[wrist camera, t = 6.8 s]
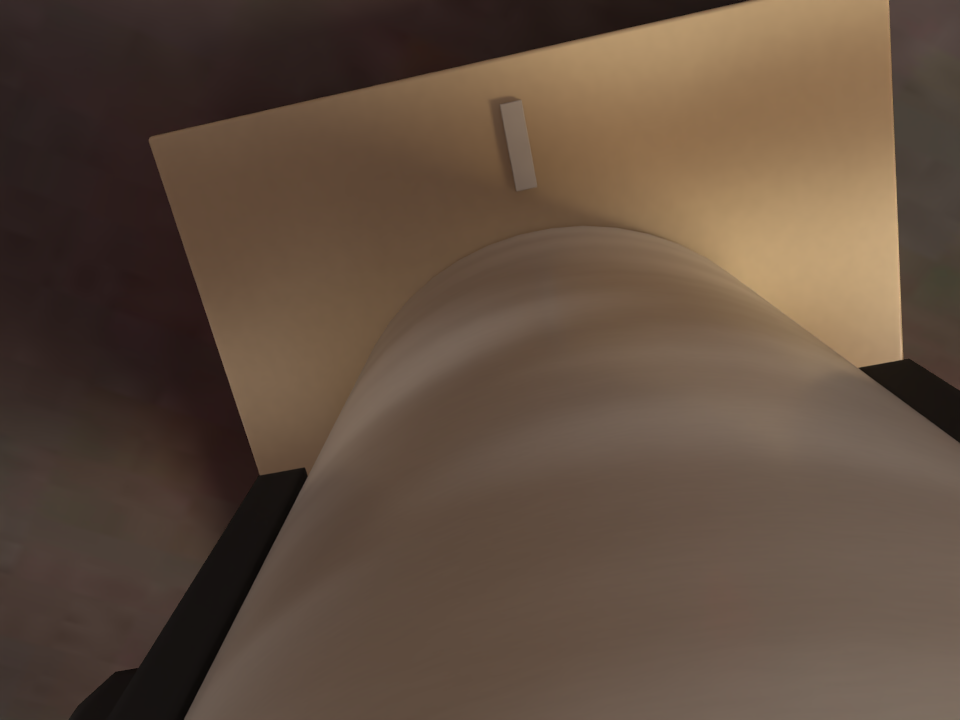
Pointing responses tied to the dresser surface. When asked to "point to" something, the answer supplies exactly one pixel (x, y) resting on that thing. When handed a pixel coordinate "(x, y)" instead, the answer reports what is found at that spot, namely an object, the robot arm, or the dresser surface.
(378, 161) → the knob base
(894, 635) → the dial knob
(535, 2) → the dresser surface
